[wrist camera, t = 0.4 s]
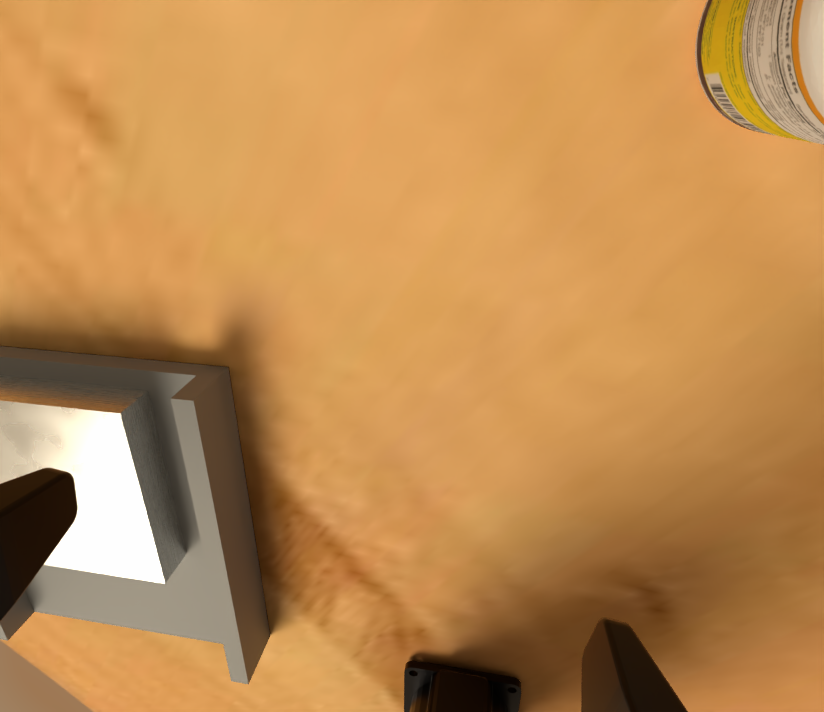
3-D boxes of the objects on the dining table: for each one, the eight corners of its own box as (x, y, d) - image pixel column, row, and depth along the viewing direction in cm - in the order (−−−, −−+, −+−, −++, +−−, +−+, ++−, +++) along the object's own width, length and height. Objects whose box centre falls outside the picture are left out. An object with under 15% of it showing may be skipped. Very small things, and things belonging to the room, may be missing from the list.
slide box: (270, 635, 33) (248, 684, 30) (32, 595, 35) (-8, 637, 32) (228, 367, 25) (193, 400, 22) (-76, 339, 27) (-141, 366, 24)
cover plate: (186, 553, 29) (165, 583, 27) (37, 531, 30) (7, 558, 29) (148, 389, 25) (119, 413, 23) (-25, 372, 26) (-65, 393, 24)
